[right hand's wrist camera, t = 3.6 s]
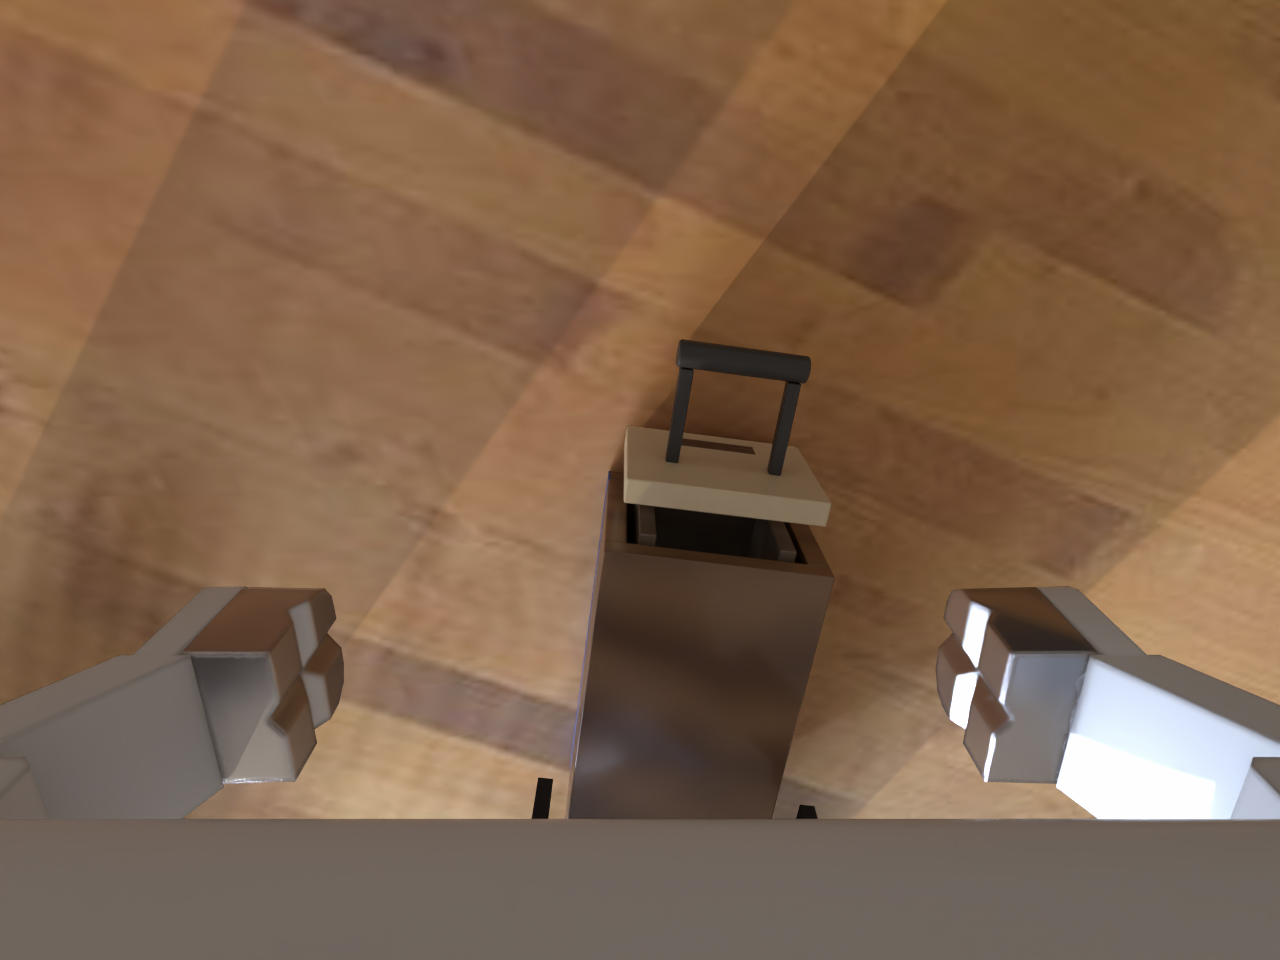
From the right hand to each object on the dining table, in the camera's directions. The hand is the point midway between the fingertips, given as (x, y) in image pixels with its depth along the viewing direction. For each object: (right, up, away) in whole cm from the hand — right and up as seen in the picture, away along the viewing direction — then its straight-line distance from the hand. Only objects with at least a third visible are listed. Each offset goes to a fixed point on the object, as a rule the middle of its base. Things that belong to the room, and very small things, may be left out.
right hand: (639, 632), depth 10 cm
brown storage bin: (+2, -7, +36) cm, 37 cm away
